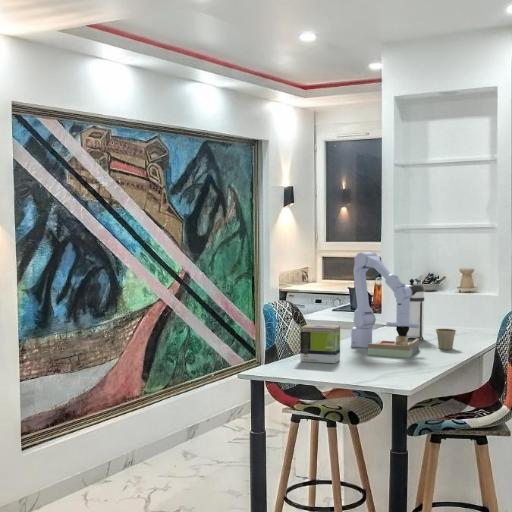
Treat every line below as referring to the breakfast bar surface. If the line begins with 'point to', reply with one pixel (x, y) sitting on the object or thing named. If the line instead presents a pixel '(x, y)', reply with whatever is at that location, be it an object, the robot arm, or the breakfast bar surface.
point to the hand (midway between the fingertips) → (402, 343)
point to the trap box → (393, 349)
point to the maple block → (402, 340)
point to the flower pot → (445, 338)
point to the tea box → (320, 343)
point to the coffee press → (416, 309)
